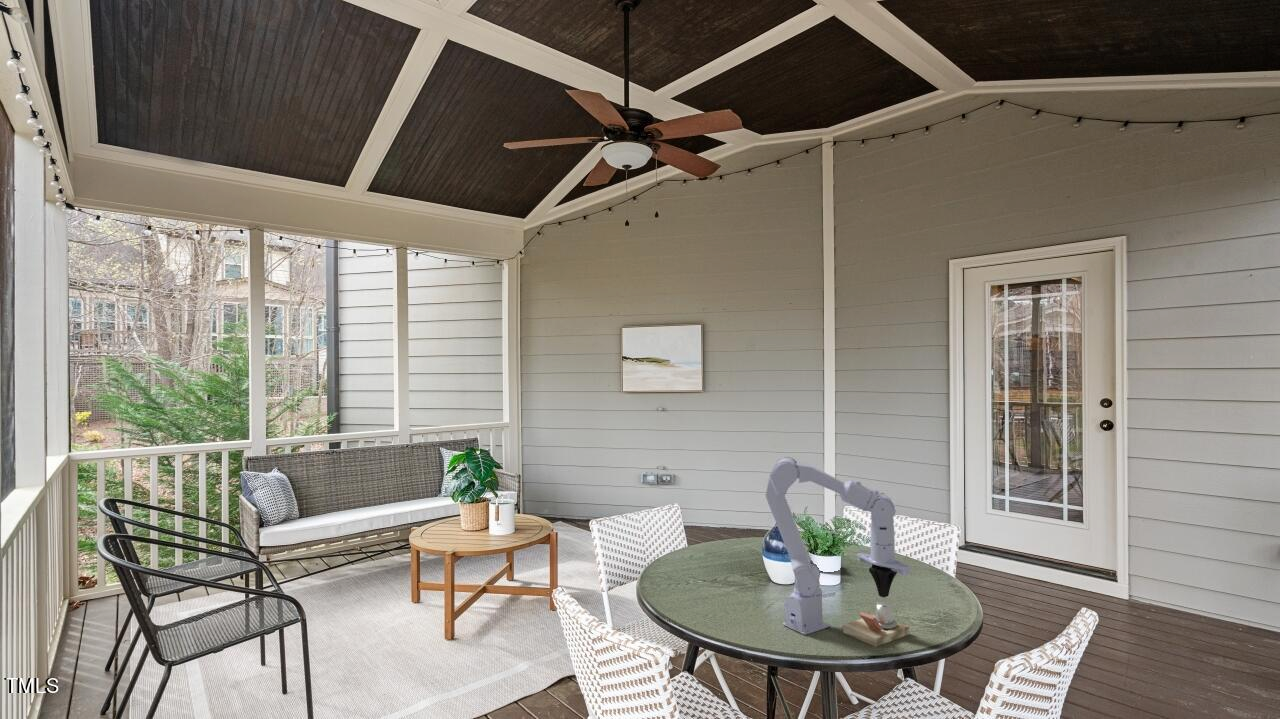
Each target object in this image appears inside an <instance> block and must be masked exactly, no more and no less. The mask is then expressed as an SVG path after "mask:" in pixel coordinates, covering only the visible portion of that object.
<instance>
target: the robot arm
mask: <svg viewBox="0 0 1280 719" xmlns="http://www.w3.org/2000/svg"><path fill="white" fill-rule="evenodd" d="M797 480H798V483H799V484H802V483H808V482H811V483H814V484H816V485H818V486H821V487H823V488H825V489H828V490H830V491H832V492H835V493H837V494H839V495H840V498H841V500H842V502H844V503H847V504H849V505H851V506H853V507H855V508H858V509H859V510H861V511H864V512H870V513H871V514H870V517H871V518H870V520H871V521H870V553H865V552H860V553H859V552H858V553H857V555H856V556H857V557H856V558H857V559H856V561H857V562H860V563H861V562H863V563H866V564H868V565H871V567H869V568H868V571H869V572H868V573H870V575H871V576H872V579H873V581H874V583H875V587H876V590H877V594H878V596H879V597H881V598H887V597H888V596H889V594H890V590H891V587H892V586H891V585H892V584H893V582H894V578H895V577H896V576H897V573H898V574H902V575H903V576H905V577H907V576H910V575H911V574H912V573H911V566H910V565H907V564H905V563H902V562H900V561H898V560H897V559H896V556H895V555H896V551H895V550H896V549H895V546H896V545H895V542H896V540H895V525H894V520H895V519H894V517H895V514H896V509H895V505H894V503H893V501H892V499H891V497H889V496H888V495H886V494H885V493H883V492H880V491H879V490H878V489H875V490H873V489H871V488H869V487H866V486H864V485H862V482H861V481H859V480H855V481H853V480H847V481H845V482H844V481H842V480H841V479H838V478H836V477H835V476H832V475H830V474H829V473H826V472H824V471H823V470H821V469H819V468H817V467H815V466H813V465H810V464H809V463H806V462H805V461H801V460H796V459H794V458H793V457H790V456H784V457H781V458H780V459H778V461H777V462H776V464H775V465H774V467H773V468H772V470H771V471H770V474H769V479H768V483H767V487H766V491H765V492H766V493H765V498H766V501H767V503H768V506H769V508H770V512H771V513H772V516H773V518H774V521H775V524H776V526H777V530H778V531H779V533H780V536H781V539H782V541H783V544H784V547H785V549H786V551H787V554H788V557H789V560H790V563H791V568H792V572H793V574H794V586H793V592H792V593H791V594H790V595H789V596H787V597H786V598H785V601H784V621H785V622H783V623H782V625H783V626H785V627H787V628H789V629H791V630H793V631H796V632H798V633H800V634H802V635H809V634H812V633H815V632H819V631H822V630H824V629H827V628H831V625H830V623H827V622H824V621H823V590H822V589H821V588H820V587H821V586H820V585H821V583H820V577H821V571H820V570H819V568H818V567H817V565H816V564H814V563H813V561H812V560H811V558H812V556H811V555H810V554H809V552H808V551H807V548H806V546H805V543H804V541H803V538H802V536H801V533H800V530H799V528H798V526H797V523H796V522H795V519H794V515H793V513H792V511H791V508H790V505H789V503H788V501H787V498H786V495H787V492H788V490H789V488H790V487H791V486H792V485H794V483H795V482H796V481H797Z"/></svg>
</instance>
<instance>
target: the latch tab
mask: <svg viewBox="0 0 1280 719" xmlns="http://www.w3.org/2000/svg"><path fill="white" fill-rule="evenodd" d="M871 615H872V614H867V613H865V612H862V611H861V612H860V613H859V616H860V618H861V619H862V618H863V620H864V621H865V623H866V624H867V626H870V627H872V628H875V629H877V630H880V631H881V630H882V627H881V626H880V624H879V623H878V621H877V620H876V618H875V617H873V616H871Z"/></svg>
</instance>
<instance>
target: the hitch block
mask: <svg viewBox="0 0 1280 719" xmlns="http://www.w3.org/2000/svg"><path fill="white" fill-rule="evenodd" d="M870 615H871V616H873V617H875V618H876V613H875V614H870ZM896 622H897V628H896V629H892V630H888V631H885V630H883V629H882V630H881V631H880V630H877V629H875V628H872V627H870V626H867V624H866V623H865V621H864V620H863V618H862V617H861V618H860V619H856V620H853V621H850V622H847V623H844V624H842V633H843V634H846V635H847V636H849V637H852V638H854V639H857V640H859V641H860V642H861V641H862V642H864V643H865V644H868V645H871V646H873V647H875V648H877V647H880V646H882V645H884V644H887V643H890V642H892V641H895V640H898V639H901V638H903V637H907V636H908V635H910V626H909V625H906V624H904V623H902V622H898V621H896Z"/></svg>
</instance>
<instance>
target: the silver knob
mask: <svg viewBox="0 0 1280 719" xmlns="http://www.w3.org/2000/svg"><path fill="white" fill-rule="evenodd" d="M875 614H876V620H877V621H878V623H879V624H880V626H881V627H882V629H883V630H885V631H888V630H892V629H896V628H897V622H898V621H896V620H894V605H893V604H892V603H891V602H887V601H876V603H875Z"/></svg>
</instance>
